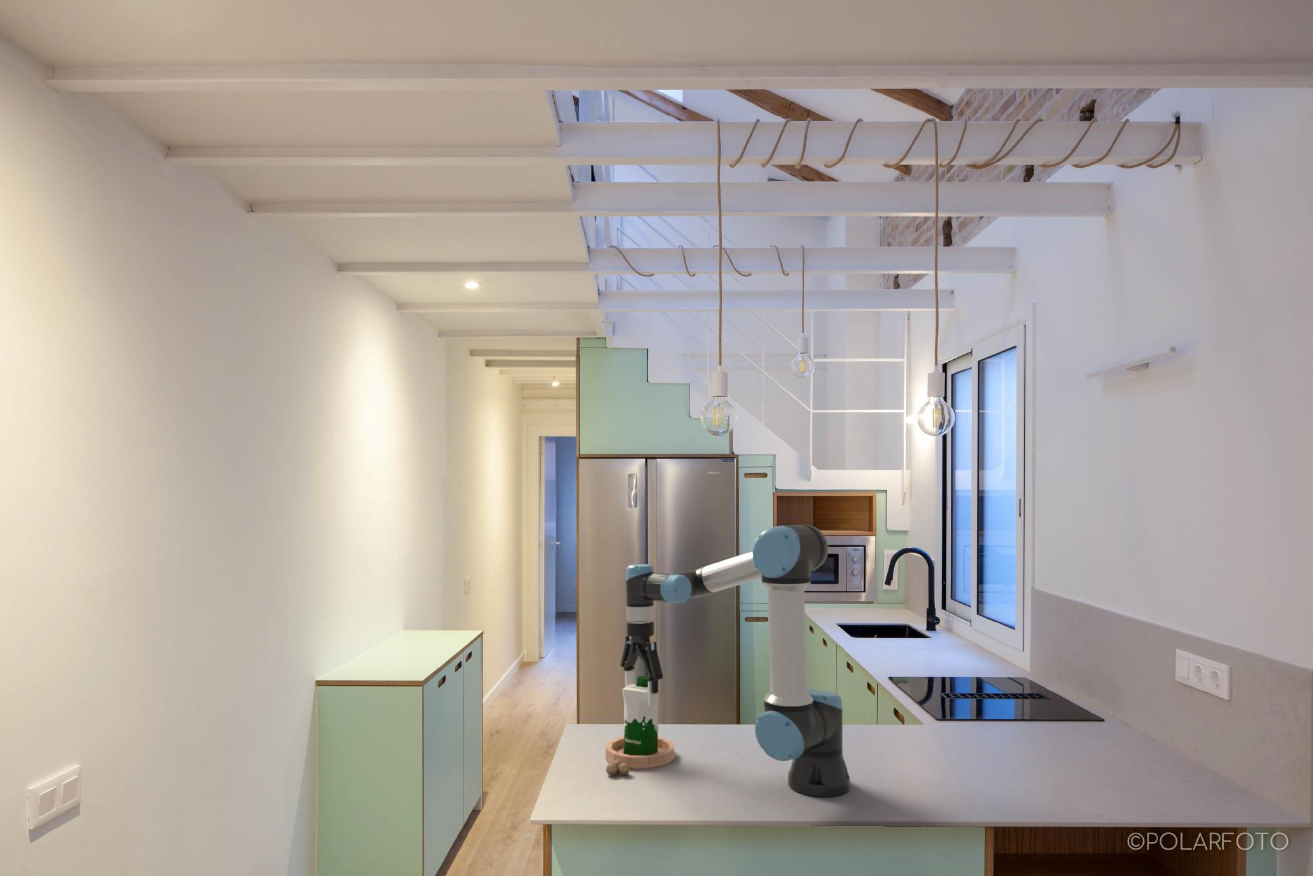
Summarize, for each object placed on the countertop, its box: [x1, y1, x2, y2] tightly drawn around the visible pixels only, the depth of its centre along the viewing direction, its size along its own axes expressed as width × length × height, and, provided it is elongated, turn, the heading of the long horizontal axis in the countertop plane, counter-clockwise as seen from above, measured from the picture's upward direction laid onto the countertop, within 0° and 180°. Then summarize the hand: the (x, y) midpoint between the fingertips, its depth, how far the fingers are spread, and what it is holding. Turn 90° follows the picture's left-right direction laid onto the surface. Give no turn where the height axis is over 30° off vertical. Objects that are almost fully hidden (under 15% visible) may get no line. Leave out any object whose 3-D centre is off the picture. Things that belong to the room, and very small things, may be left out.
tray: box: [604, 736, 676, 770], centre depth 226 cm, size 19×19×3 cm
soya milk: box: [621, 675, 660, 756], centre depth 226 cm, size 9×9×20 cm
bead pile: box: [605, 760, 631, 777], centre depth 213 cm, size 6×6×3 cm
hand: (641, 699), depth 226 cm, fingers open, 13 cm apart
